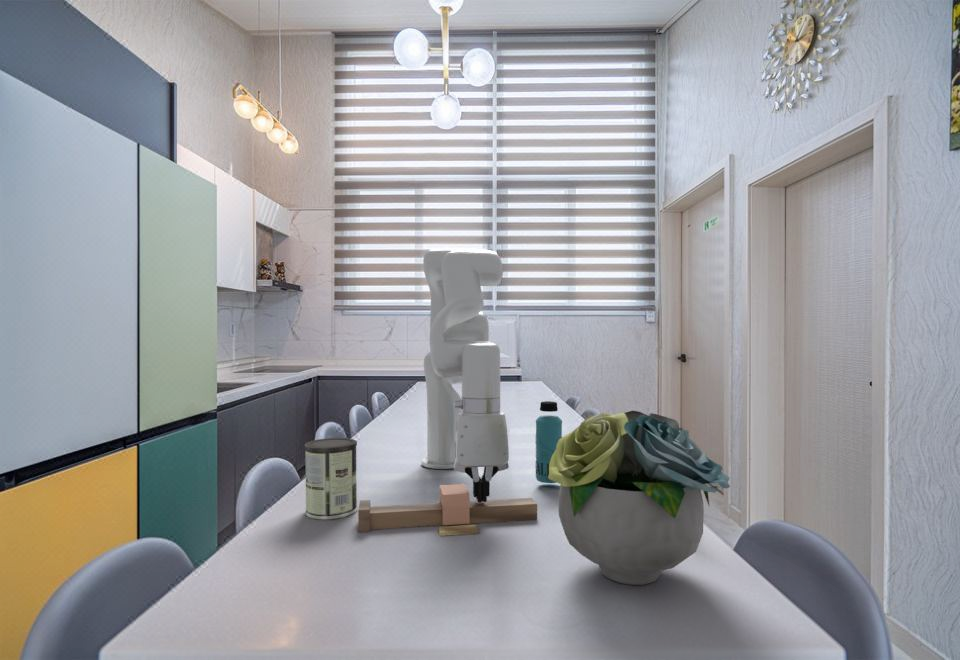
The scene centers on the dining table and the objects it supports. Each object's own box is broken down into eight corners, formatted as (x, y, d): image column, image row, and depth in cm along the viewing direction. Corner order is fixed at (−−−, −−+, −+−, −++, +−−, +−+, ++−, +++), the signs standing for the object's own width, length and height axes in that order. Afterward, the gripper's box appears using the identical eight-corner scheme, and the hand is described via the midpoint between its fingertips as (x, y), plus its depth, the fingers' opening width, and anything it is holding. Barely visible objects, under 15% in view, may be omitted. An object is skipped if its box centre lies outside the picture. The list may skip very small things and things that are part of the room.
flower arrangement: (659, 537, 99) (659, 399, 99) (758, 604, 75) (757, 421, 75) (525, 549, 94) (524, 403, 94) (584, 625, 70) (583, 429, 70)
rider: (439, 513, 111) (439, 485, 111) (464, 512, 112) (464, 483, 112) (443, 525, 104) (443, 494, 105) (469, 523, 105) (469, 493, 105)
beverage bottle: (562, 482, 135) (562, 399, 135) (563, 490, 128) (563, 403, 128) (535, 482, 136) (535, 399, 136) (535, 489, 129) (534, 403, 129)
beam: (360, 513, 113) (360, 493, 113) (525, 504, 118) (525, 485, 118) (357, 541, 98) (357, 518, 98) (545, 529, 103) (545, 507, 103)
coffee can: (328, 501, 121) (327, 436, 121) (367, 507, 117) (367, 439, 117) (293, 515, 112) (293, 444, 112) (334, 523, 107) (334, 449, 107)
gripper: (444, 409, 104) (444, 508, 104) (522, 407, 107) (523, 504, 107) (441, 404, 112) (441, 496, 112) (514, 402, 114) (514, 493, 114)
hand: (481, 500), depth 109 cm, fingers closed
